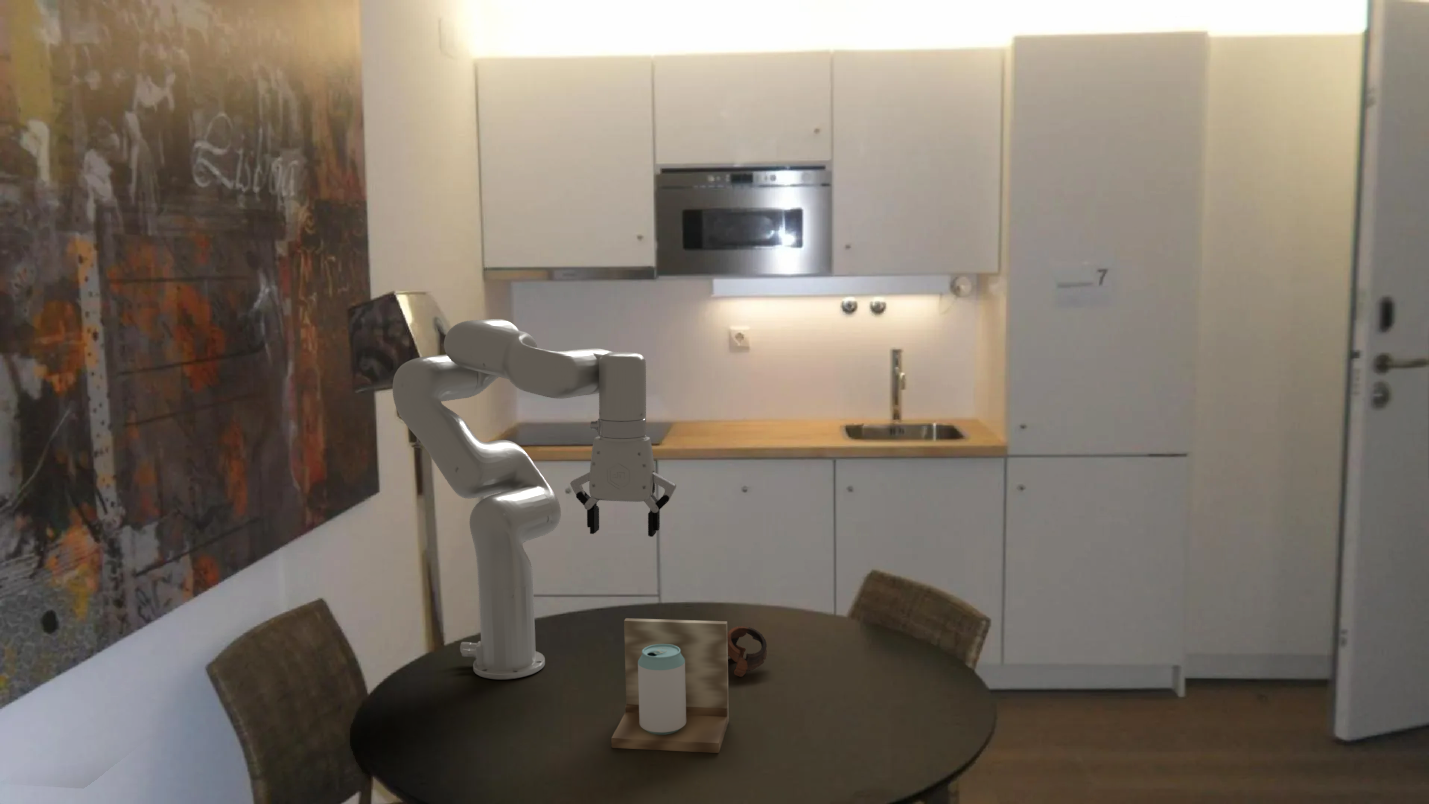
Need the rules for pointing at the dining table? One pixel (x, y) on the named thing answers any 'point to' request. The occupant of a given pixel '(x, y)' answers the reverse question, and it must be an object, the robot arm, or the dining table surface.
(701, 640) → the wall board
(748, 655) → the vr controller
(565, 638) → the dining table surface
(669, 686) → the can
